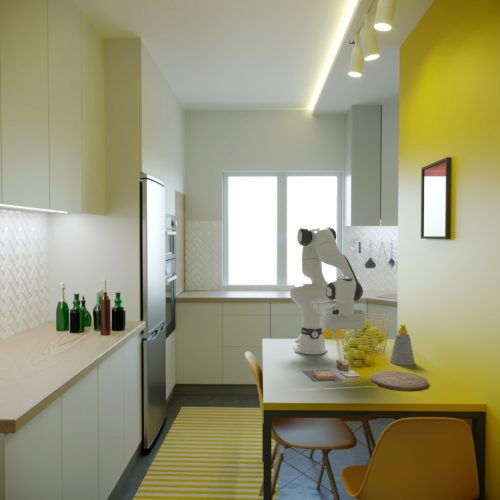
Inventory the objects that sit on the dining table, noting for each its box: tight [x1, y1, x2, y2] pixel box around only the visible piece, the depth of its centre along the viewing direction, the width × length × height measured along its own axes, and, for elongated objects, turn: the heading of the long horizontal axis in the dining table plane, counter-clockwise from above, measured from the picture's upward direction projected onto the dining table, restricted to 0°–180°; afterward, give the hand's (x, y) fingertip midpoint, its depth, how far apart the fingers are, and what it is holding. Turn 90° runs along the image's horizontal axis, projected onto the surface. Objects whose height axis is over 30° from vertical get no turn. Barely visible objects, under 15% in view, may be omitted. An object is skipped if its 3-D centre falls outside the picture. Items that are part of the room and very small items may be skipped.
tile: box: [313, 370, 336, 380], centre depth 221 cm, size 2×8×8 cm
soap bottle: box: [389, 323, 416, 367], centre depth 252 cm, size 12×12×20 cm
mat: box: [301, 369, 344, 383], centre depth 224 cm, size 18×14×1 cm
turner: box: [336, 359, 361, 378], centre depth 231 cm, size 18×7×4 cm, turn 11°
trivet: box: [369, 370, 429, 392], centre depth 217 cm, size 25×25×2 cm
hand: (344, 338), depth 234 cm, fingers open, 8 cm apart
